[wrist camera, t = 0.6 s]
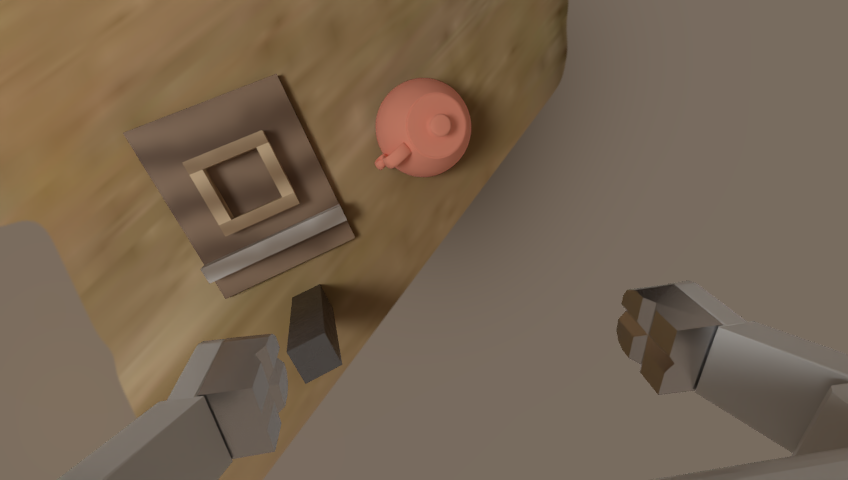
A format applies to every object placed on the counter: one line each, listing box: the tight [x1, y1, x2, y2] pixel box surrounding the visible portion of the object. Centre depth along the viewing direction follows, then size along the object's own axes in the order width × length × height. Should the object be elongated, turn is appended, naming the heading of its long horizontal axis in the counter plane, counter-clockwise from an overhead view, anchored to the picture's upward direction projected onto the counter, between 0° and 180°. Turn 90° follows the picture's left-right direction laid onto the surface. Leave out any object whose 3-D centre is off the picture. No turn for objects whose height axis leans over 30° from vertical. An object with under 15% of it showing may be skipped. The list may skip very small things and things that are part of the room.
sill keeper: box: [123, 74, 355, 299], centre depth 49 cm, size 22×18×3 cm
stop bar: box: [287, 285, 342, 384], centre depth 48 cm, size 4×4×16 cm
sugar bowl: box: [375, 78, 471, 177], centre depth 50 cm, size 12×14×10 cm
